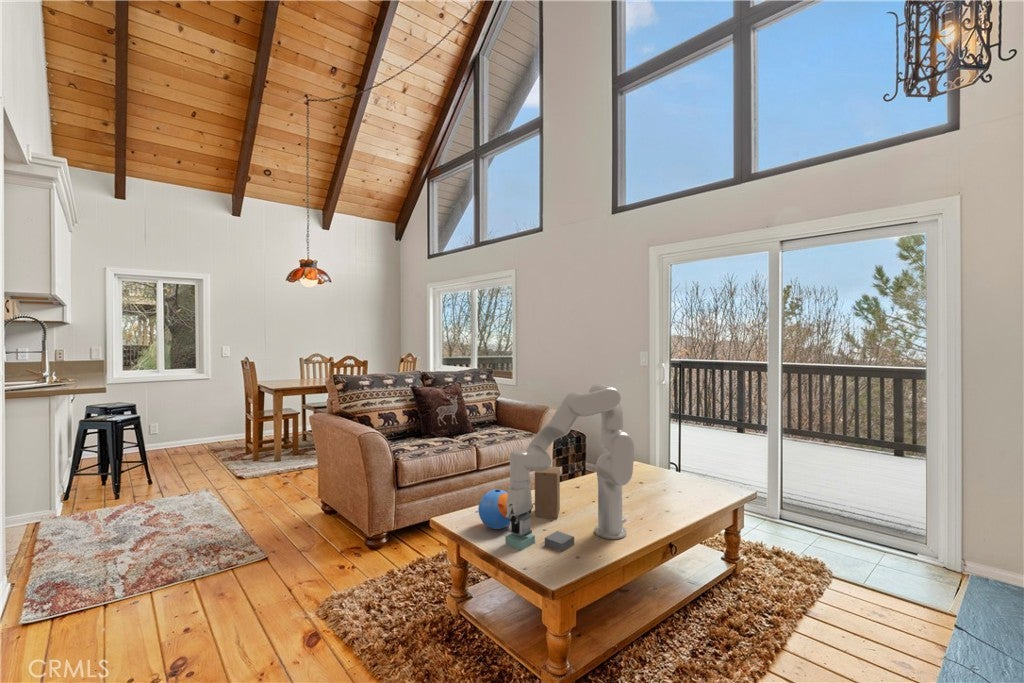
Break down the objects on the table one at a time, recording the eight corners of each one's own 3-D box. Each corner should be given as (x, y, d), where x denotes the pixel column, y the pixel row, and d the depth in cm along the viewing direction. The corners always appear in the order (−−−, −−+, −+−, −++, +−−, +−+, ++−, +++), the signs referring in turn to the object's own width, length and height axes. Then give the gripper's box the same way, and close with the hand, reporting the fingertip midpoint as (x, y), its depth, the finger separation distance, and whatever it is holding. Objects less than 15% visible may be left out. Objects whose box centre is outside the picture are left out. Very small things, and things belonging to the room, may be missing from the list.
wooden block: (557, 519, 203) (557, 473, 202) (534, 517, 205) (534, 472, 204) (559, 510, 213) (559, 466, 212) (538, 509, 215) (537, 465, 214)
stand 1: (519, 537, 185) (519, 529, 185) (534, 543, 180) (534, 535, 180) (505, 544, 179) (505, 536, 179) (521, 550, 174) (521, 542, 174)
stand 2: (557, 538, 184) (557, 530, 184) (574, 544, 179) (574, 536, 179) (544, 545, 178) (544, 537, 178) (561, 551, 173) (561, 543, 173)
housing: (517, 527, 184) (516, 509, 184) (531, 532, 179) (531, 514, 179) (508, 531, 180) (508, 513, 180) (523, 537, 175) (523, 518, 175)
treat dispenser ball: (495, 516, 206) (495, 482, 205) (523, 526, 196) (523, 489, 196) (470, 528, 194) (470, 491, 193) (499, 539, 184) (498, 500, 184)
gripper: (526, 476, 188) (527, 521, 188) (497, 486, 175) (497, 534, 176) (541, 479, 183) (541, 526, 183) (512, 491, 170) (512, 540, 171)
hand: (520, 529), depth 180 cm, fingers closed on housing, 5 cm apart
